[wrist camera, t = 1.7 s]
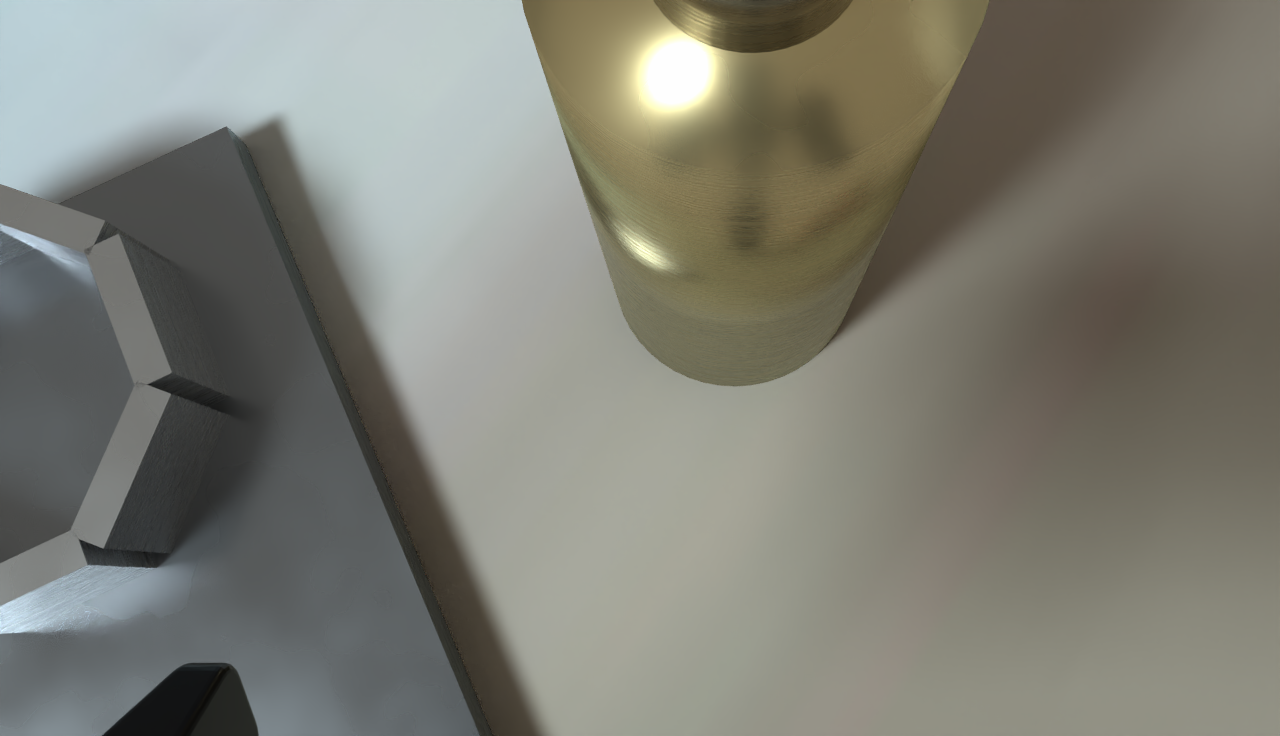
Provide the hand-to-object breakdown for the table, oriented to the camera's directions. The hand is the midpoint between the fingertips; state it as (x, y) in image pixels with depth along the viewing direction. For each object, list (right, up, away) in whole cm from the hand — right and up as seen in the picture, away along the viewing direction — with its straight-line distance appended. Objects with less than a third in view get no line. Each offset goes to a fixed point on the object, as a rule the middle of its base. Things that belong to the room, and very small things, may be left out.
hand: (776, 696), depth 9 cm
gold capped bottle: (+1, +5, +14) cm, 15 cm away
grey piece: (-12, -2, +14) cm, 18 cm away
